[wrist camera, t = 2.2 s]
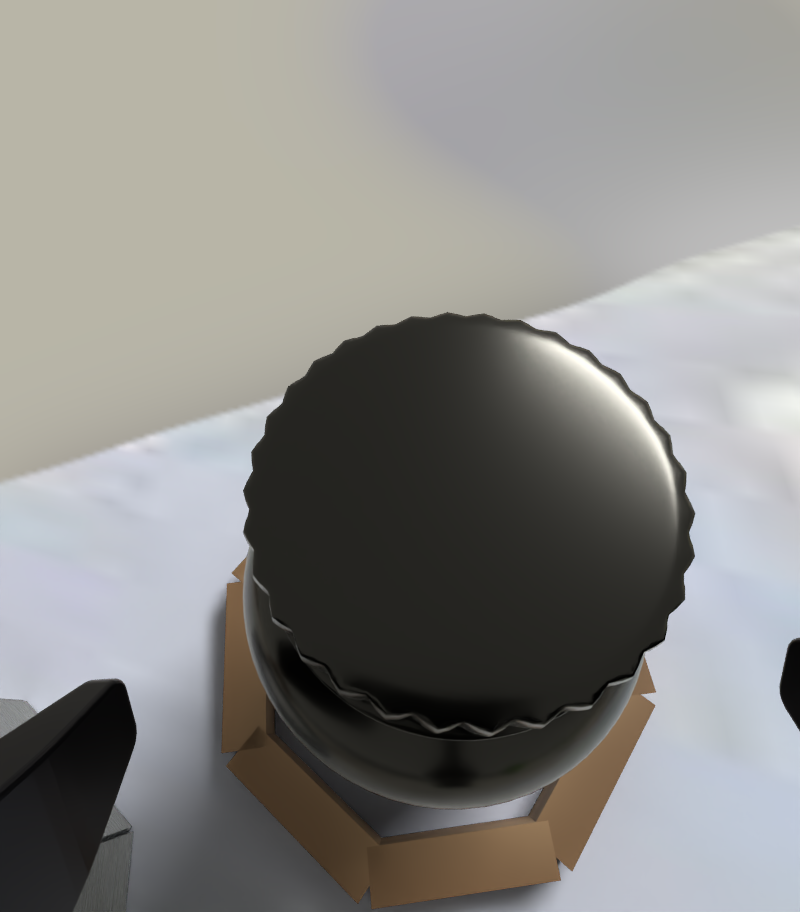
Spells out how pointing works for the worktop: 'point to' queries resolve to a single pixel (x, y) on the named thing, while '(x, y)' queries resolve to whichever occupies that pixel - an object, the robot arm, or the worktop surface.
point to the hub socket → (110, 870)
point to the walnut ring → (423, 853)
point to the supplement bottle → (459, 557)
